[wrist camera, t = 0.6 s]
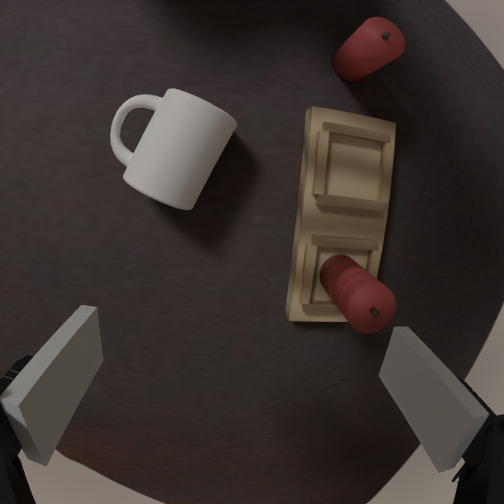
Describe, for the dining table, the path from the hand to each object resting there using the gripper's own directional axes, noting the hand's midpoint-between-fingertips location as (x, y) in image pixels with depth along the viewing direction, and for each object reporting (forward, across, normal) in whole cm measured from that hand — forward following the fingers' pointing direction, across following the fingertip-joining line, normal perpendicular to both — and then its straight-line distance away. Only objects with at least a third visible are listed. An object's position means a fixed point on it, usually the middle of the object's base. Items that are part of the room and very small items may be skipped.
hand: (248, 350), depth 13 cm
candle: (+25, +11, +22) cm, 35 cm away
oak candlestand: (+25, +12, +3) cm, 27 cm away
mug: (+25, -9, +9) cm, 28 cm away
